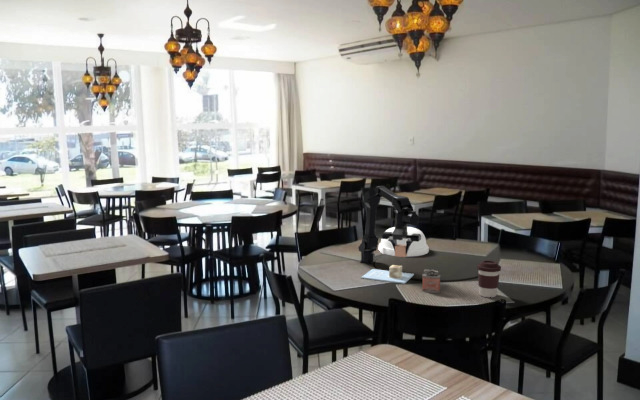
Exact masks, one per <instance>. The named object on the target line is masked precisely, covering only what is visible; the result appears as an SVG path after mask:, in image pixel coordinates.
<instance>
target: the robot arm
mask: <svg viewBox="0 0 640 400" xmlns="http://www.w3.org/2000/svg"><path fill="white" fill-rule="evenodd" d="M382 198H384V199H385V200H387V201H389V202H390V203H391V206H393V208H394V210H393V211H392V212H393V213H394V214H395V225H394V227H395V229H394V231H393V233H392V232H385V231H384V232H383V233H382V234H381V239H388V238H389V239H388V241H390V242H391V243H392V245H393V248H394V251H395V246H396V245H397V240H402V239H403V238H405V239H407V241H406V254H407V253H408V250H409V247H410V245H411V243H412V242H414V241H417V242H418V241H420V240H421V235H420V234H412V235H407V234H408V232H407V227H409V226H410V225H411V226H415V227H416V226H417V225H418V224H419V222H420V217H419V215H418V214H417V211H416V210H415V209H414V207H413V206H412V203H411V201H410V198H409V197H407V196H404V195H398V194H397V193H395V192H393V191H391V190H390V189H389V188H387V187H386V186H384V185H378V186H377V185H376V186H375V187H374V188H373V189H370V190H367V191H366V192H365V193H364V196H363V199H364V205H365V206H366V224H365V225H366V226H365V233H364V234H363V237H362V240H361V243H360V245H359V246H358V248H357V249H358V251H359V252H361V253H360V257H361V259H360V261H359V263H362V264H368V265H369V264H370V265H371V264H373V263H374V262H375V261H376V260H375V259H376V258H375V257H376V256H375V254H376V253H375V252H376V251H377V250H378V246H379V237H378V236H377V234H376V222H377V221H376V219H377V208H378V206H379V205H380V204H381V199H382ZM408 225H409V226H408Z"/></svg>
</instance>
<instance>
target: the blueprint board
mask: <svg viewBox="0 0 640 400" xmlns="http://www.w3.org/2000/svg"><path fill="white" fill-rule="evenodd" d="M414 276H415V274H414V273H409V272H402V276H401V277H400V278H392V277H389V270H382V269H377V268H372V269H371V270H369V271H367V272H366V273H365V274H363V275H362V276H361V277H360V278H361V279H363V278H364V279H365V280H372V281H380V282H389V283H394V284H395V283H396V284H402V285H403V284H405V285H406V283H407V282H409V280H411V278H413V277H414Z"/></svg>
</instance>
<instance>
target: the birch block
mask: <svg viewBox="0 0 640 400" xmlns="http://www.w3.org/2000/svg"><path fill="white" fill-rule="evenodd" d="M388 271H389V277H392V278H400V277H401V276H402V273H403V265H397V264H392V265H390V266H389V267H388Z"/></svg>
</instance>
